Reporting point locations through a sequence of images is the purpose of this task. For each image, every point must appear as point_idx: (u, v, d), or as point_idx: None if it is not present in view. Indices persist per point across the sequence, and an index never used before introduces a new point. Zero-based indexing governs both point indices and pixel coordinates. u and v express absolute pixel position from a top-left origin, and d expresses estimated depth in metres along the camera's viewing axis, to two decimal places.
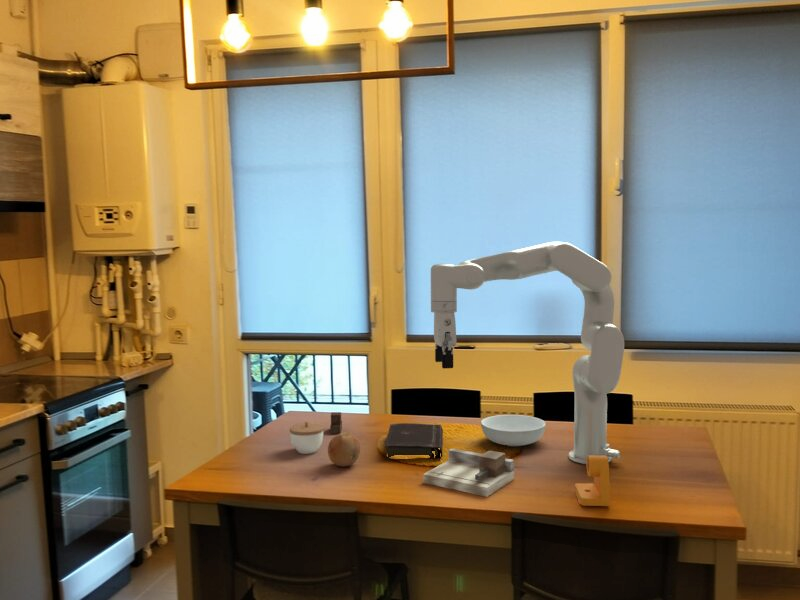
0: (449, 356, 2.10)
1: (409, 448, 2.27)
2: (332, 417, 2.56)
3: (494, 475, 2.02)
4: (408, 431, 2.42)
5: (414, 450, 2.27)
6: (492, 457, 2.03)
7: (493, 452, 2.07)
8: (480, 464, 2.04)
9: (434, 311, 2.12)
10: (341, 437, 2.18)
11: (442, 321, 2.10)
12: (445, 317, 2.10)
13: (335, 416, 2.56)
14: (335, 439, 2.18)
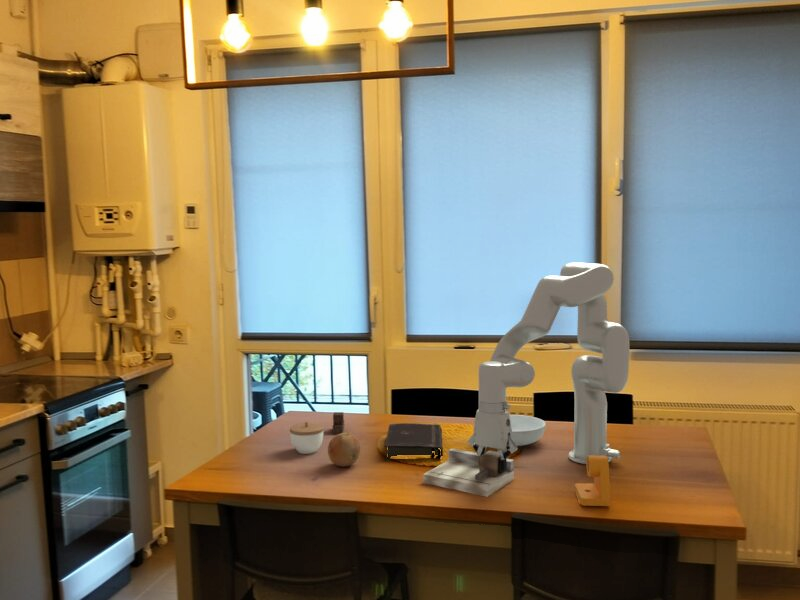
0: (505, 460, 2.03)
1: (409, 448, 2.27)
2: (334, 417, 2.56)
3: (494, 475, 2.02)
4: (408, 431, 2.42)
5: (414, 450, 2.27)
6: (492, 457, 2.03)
7: (493, 452, 2.07)
8: (480, 464, 2.04)
9: (493, 414, 2.00)
10: (341, 437, 2.18)
11: (505, 423, 2.00)
12: (506, 418, 2.01)
13: (337, 416, 2.56)
14: (335, 439, 2.18)
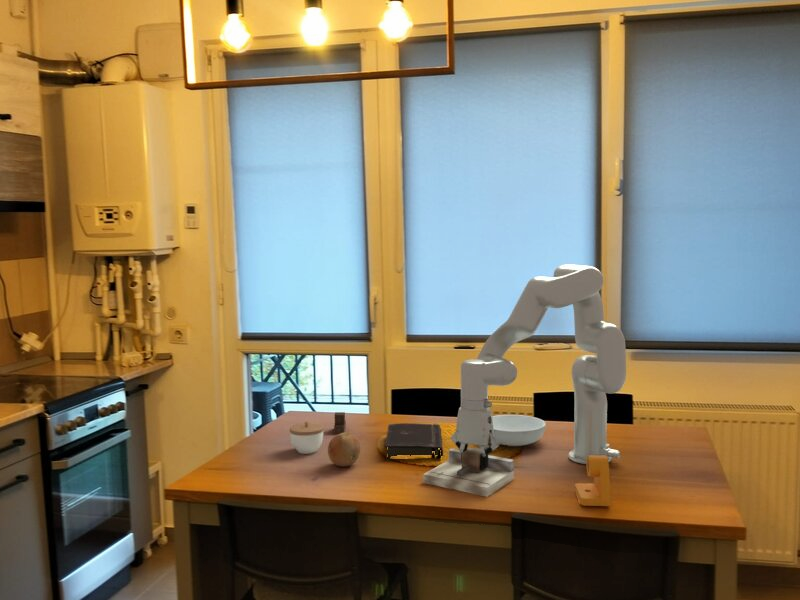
0: (487, 456, 2.07)
1: (410, 448, 2.27)
2: (336, 417, 2.56)
3: (476, 471, 2.05)
4: (408, 431, 2.42)
5: (415, 450, 2.27)
6: (474, 454, 2.06)
7: (475, 449, 2.10)
8: (462, 461, 2.07)
9: (475, 411, 2.03)
10: (341, 437, 2.18)
11: (486, 420, 2.04)
12: (488, 415, 2.04)
13: (339, 416, 2.56)
14: (335, 439, 2.18)
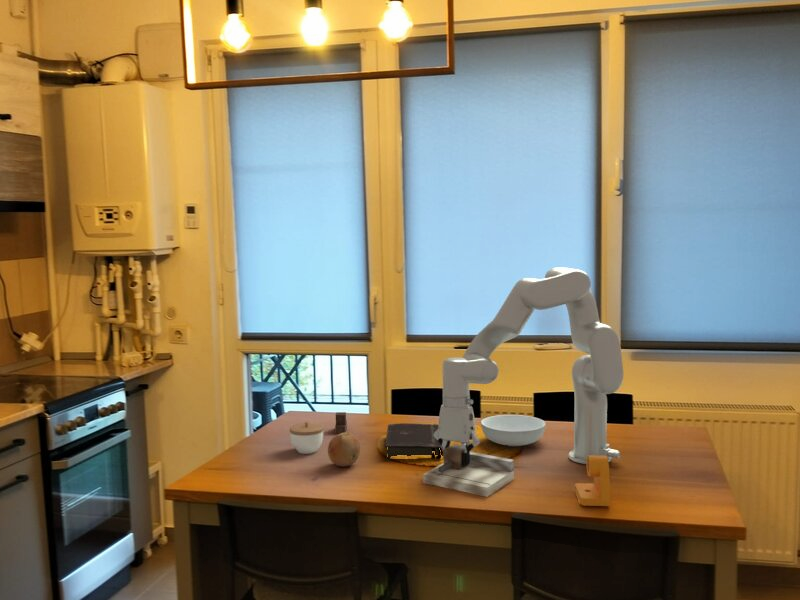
0: (468, 453, 2.10)
1: (410, 448, 2.27)
2: (337, 417, 2.56)
3: (457, 468, 2.08)
4: (407, 431, 2.42)
5: (415, 450, 2.27)
6: (456, 450, 2.09)
7: (457, 446, 2.13)
8: (444, 457, 2.11)
9: (456, 408, 2.07)
10: (341, 437, 2.18)
11: (468, 417, 2.07)
12: (469, 412, 2.07)
13: (340, 416, 2.56)
14: (335, 439, 2.18)
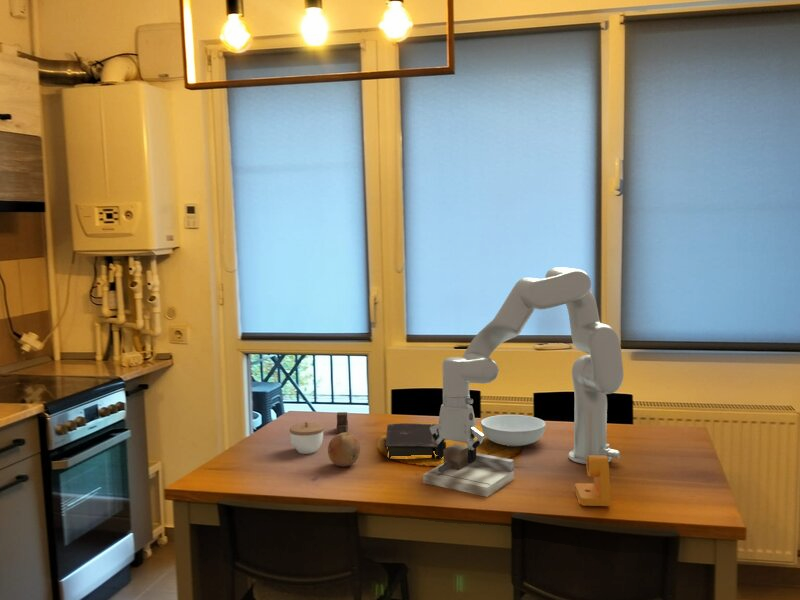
0: (475, 450, 2.09)
1: (410, 448, 2.27)
2: (338, 417, 2.56)
3: (457, 468, 2.08)
4: (407, 431, 2.42)
5: (415, 450, 2.27)
6: (456, 450, 2.09)
7: (457, 446, 2.13)
8: (444, 457, 2.11)
9: (456, 408, 2.07)
10: (341, 437, 2.18)
11: (468, 416, 2.07)
12: (469, 412, 2.07)
13: (341, 416, 2.56)
14: (335, 439, 2.18)
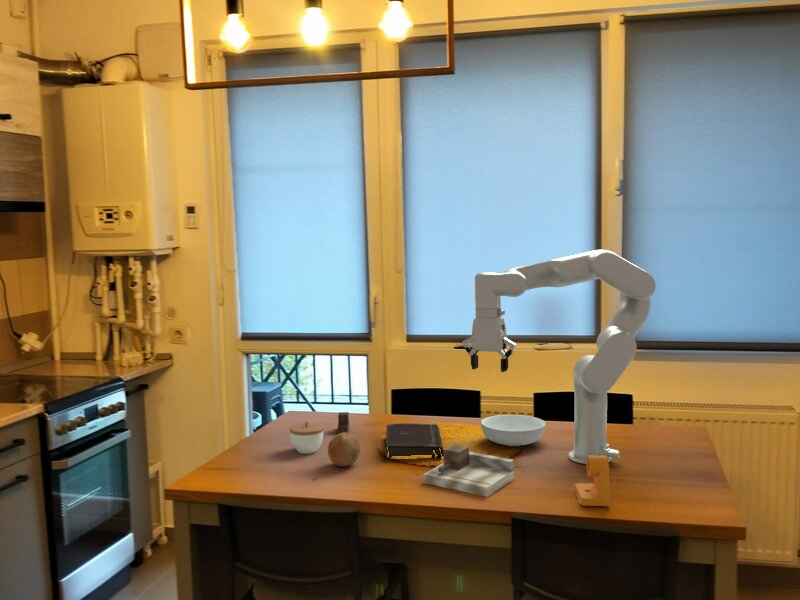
0: (507, 359, 2.20)
1: (410, 448, 2.27)
2: (339, 417, 2.56)
3: (457, 468, 2.08)
4: (407, 431, 2.42)
5: (415, 450, 2.27)
6: (456, 450, 2.09)
7: (457, 446, 2.13)
8: (444, 457, 2.11)
9: (489, 318, 2.17)
10: (341, 437, 2.18)
11: (500, 327, 2.18)
12: (501, 323, 2.18)
13: (342, 416, 2.56)
14: (335, 439, 2.18)
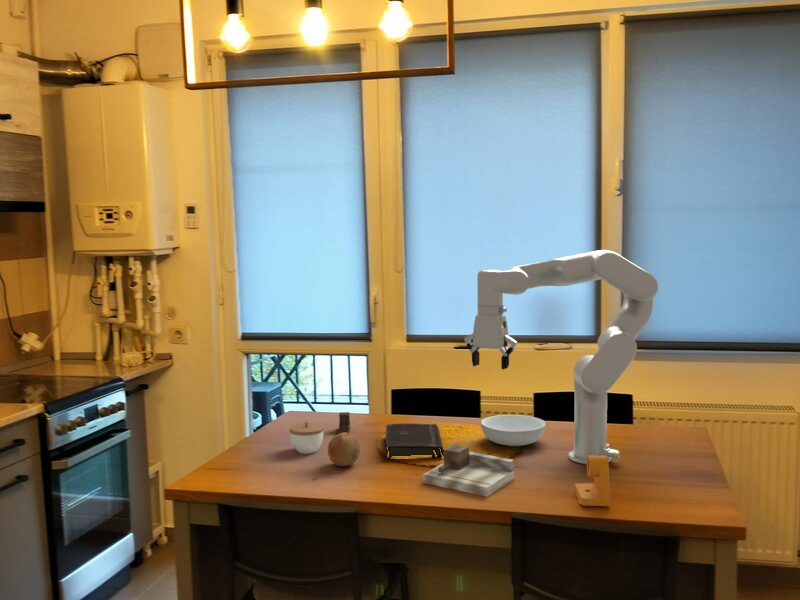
0: (508, 357, 2.20)
1: (410, 448, 2.27)
2: (340, 417, 2.56)
3: (457, 468, 2.08)
4: (406, 431, 2.42)
5: (415, 450, 2.27)
6: (456, 450, 2.09)
7: (457, 446, 2.13)
8: (444, 457, 2.11)
9: (491, 316, 2.18)
10: (341, 437, 2.18)
11: (501, 324, 2.18)
12: (503, 320, 2.19)
13: (343, 416, 2.56)
14: (335, 439, 2.18)
